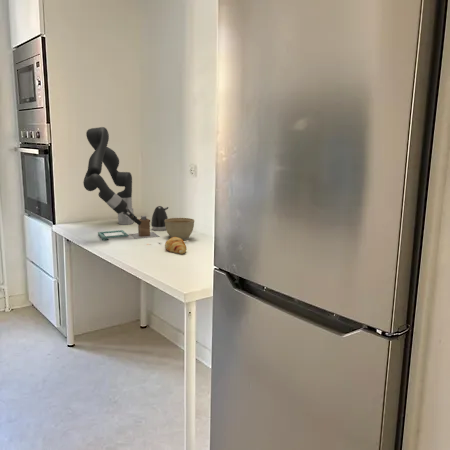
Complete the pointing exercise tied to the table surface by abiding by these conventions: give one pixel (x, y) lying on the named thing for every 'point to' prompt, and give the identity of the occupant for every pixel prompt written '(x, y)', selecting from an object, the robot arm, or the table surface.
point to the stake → (136, 236)
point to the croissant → (175, 245)
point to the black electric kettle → (159, 218)
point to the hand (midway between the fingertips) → (138, 222)
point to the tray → (111, 236)
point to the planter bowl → (179, 227)
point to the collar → (144, 227)
